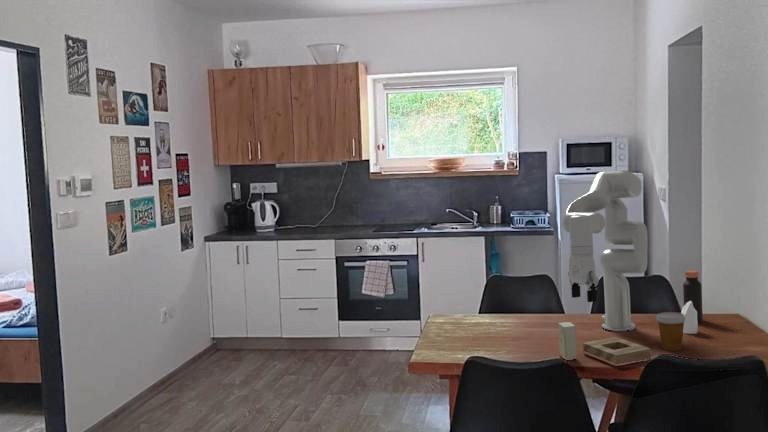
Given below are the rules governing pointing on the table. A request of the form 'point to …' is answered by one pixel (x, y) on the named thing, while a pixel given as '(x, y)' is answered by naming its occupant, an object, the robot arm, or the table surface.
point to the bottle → (693, 292)
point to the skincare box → (567, 339)
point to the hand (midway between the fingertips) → (583, 299)
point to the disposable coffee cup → (671, 330)
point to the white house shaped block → (689, 318)
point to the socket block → (617, 350)
